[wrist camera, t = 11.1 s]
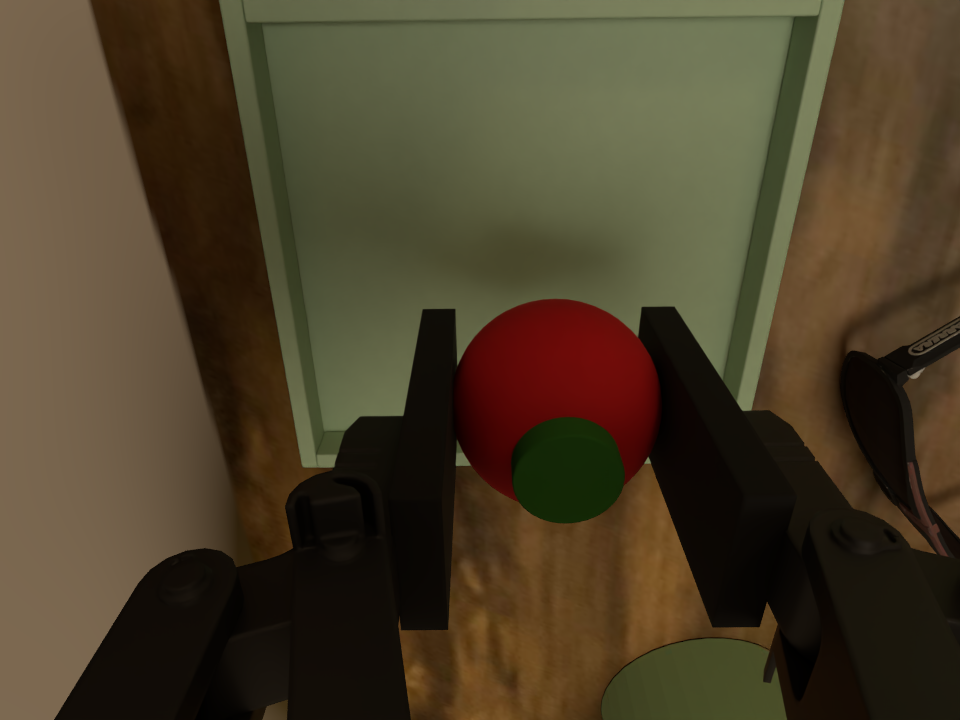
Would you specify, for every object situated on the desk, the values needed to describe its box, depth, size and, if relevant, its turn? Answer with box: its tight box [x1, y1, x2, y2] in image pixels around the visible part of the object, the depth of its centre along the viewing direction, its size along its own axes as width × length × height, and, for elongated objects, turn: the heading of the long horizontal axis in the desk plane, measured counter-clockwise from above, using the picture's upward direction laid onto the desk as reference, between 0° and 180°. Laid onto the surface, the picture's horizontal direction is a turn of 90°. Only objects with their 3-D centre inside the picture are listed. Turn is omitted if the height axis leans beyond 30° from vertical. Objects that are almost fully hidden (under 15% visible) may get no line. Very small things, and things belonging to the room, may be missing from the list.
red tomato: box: [453, 299, 662, 523], centre depth 14 cm, size 4×4×5 cm
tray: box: [219, 0, 845, 467], centre depth 21 cm, size 16×15×2 cm
